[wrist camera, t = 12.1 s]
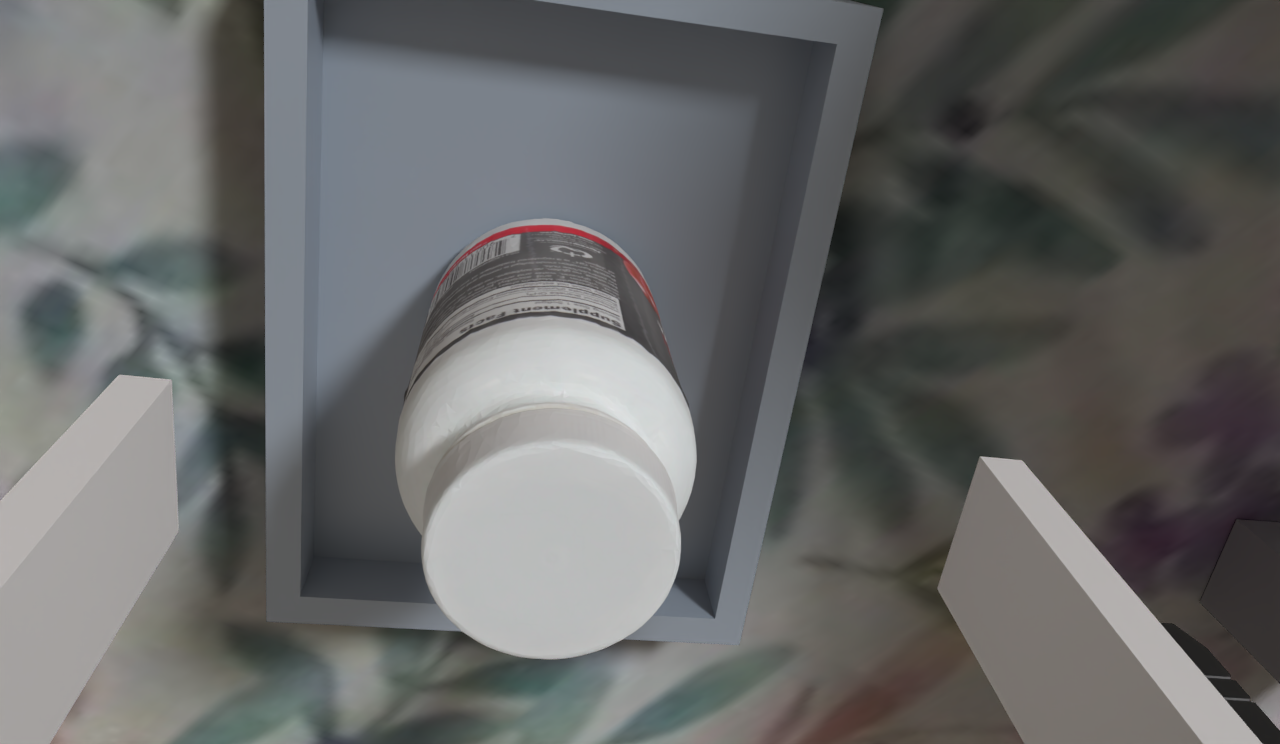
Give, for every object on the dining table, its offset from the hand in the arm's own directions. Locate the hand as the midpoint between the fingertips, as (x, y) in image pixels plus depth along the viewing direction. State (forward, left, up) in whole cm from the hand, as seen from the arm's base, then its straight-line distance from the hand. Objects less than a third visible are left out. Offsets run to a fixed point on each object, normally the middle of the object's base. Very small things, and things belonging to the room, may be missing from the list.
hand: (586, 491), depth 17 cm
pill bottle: (0, 0, -9) cm, 9 cm away
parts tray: (0, -1, -9) cm, 9 cm away
